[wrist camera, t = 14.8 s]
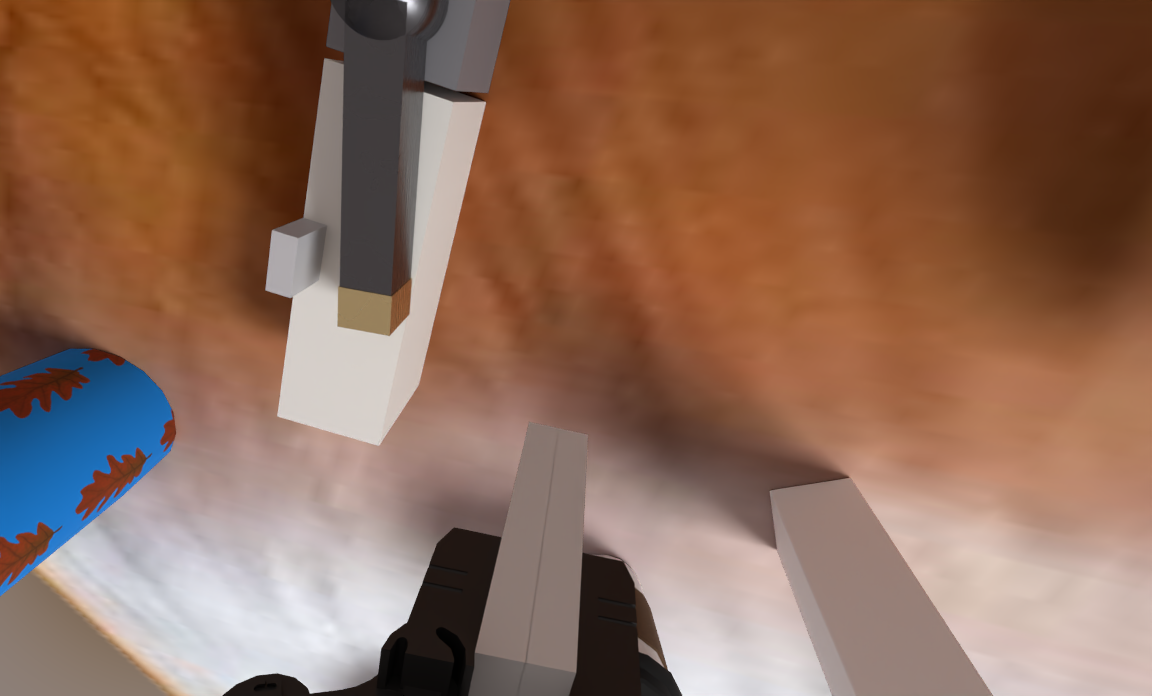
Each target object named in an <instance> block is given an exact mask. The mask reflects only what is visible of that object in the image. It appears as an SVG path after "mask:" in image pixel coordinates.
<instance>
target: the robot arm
mask: <svg viewBox="0 0 1152 696" xmlns="http://www.w3.org/2000/svg"><path fill="white" fill-rule="evenodd" d="M587 448H588V435H587V434H583V433H578V432H574V431H569V430H565V429H560V428H556V427H551V426H546V425H542V424H537V423H533V422H529V425H528V429H527V433H526V437H525V442H524V446H523V450H522V454H521V459H520V463H519V467H518V471H517V476H516V480H515V484H514V488H513V493H512V497H511V501H510V505H509V510H508V514H507V518H506V522H505V526H504V531H503V535H502V537H497V536H492V535H487V534H483V533H478V532H473V531H468V530H464V529H459V528H453V529H452V530H451V531H450V532H449V533H448V534H447V535H446V536H445V537H444V538H442V539H441V540H440V541H439V542H438V543H437V546H436V548H435V551H434V553H433V556H432V559H431V561H430V564H429V568H428V569H427V572H426V575H425V577H424V580H423V583H422V586H421V588H420V590H419V593H418V596H417V598H416V601H415V604H414V606H413V609H412V612H411V614H410V617H409V620H408V622H407V623H406V624H404V625H403V626H401V627H400V628H399V629H397V630H396V631H394V632H393V633H392V634H391V635H390V636H389V638H388V639H387V641H386V642H385V644H384V645H383V647H382V649H381V657H380V664H379V672H378V675H377V676H375V677H374V678H372V679H371V680H369V681H367V682H365V683H363V684H361V685H358V686H356V687H352V688H347V689H343V690H337V691H329V692H321V693H313V694H310V693H309V690H308V688H307V687H306V686H305V685H303V684H302V683H301V682H300V681H298V680H297V679H296V678H294V677H290V676H286V675H282V674H268V675H259V676H255V677H253V678H250V679H248V680H246V681H243V682H241V683H239V684H236V685H235V686H234V687H233V688H231V689H230V690H229V691H228V692H226V693H225V694H224V695H223V696H641V681H640V664H639V648H638V632H637V628H636V626H637V615H636V609H635V606H636V599H635V583H634V581H633V579H632V577H631V575H630V573H629V571H628V569H627V567H626V565H625V563H624V561H619V560H614V559H609V558H605V557H600V556H595V555H590V554H586V553H582V548H583V528H584V508H585V488H586V468H587Z"/></svg>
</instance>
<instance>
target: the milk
mask: <svg viewBox="0 0 1152 696" xmlns="http://www.w3.org/2000/svg"><path fill="white" fill-rule="evenodd" d="M770 499H771V507H772V515H773V523H774V530H775V538H776V546H777V552H778V555H779V557H780V560H781V563H782V565H783V568H784V570H785V573H786V576H787V578H788V581H789V584H790V586H791V589H792V591H793V594H794V597H795V599H796V602H797V604H798V607H799V610H800V612H801V615H802V618H803V620H804V623H805V625H806V628H807V631H808V633H809V636H810V638H811V641H812V644H813V646H814V649H815V652H816V654H817V657H818V659H819V662H820V665H821V667H822V670H823V672H824V675H825V678H826V680H827V683H828V686H829V688H830V691H831V693H832V696H993V695H992V693H991V692H990V690H989V689H988V687H987V686H986V684H985V683H984V681H983V680H982V678H981V677H980V675H979V673H978V672H977V670H976V669H975V667H974V666H973V664H972V663H971V661H970V660H969V658H968V657H967V655H966V654H965V652H964V650H963V649H962V647H961V646H960V644H959V643H958V641H957V640H956V638H955V637H954V635H953V634H952V632H951V631H950V629H949V627H948V626H947V624H946V623H945V621H944V620H943V618H942V617H941V615H940V614H939V612H938V611H937V609H936V608H935V606H934V604H933V603H932V601H931V600H930V598H929V597H928V595H927V594H926V592H925V591H924V589H923V588H922V586H921V585H920V583H919V581H918V580H917V578H916V577H915V575H914V574H913V572H912V571H911V569H910V568H909V566H908V565H907V563H906V562H905V560H904V558H903V557H902V555H901V554H900V552H899V551H898V549H897V548H896V546H895V545H894V543H893V542H892V540H891V539H890V537H889V535H888V534H887V532H886V531H885V529H884V528H883V526H882V525H881V523H880V522H879V520H878V519H877V517H876V516H875V514H874V512H873V511H872V509H871V508H870V506H869V505H868V503H867V502H866V500H865V499H864V497H863V496H862V494H861V493H860V491H859V489H858V488H857V486H856V485H855V483H854V482H853V480H852V479H851V478H846V479H839V480H833V481H827V482H820V483H814V484H808V485H801V486H795V487H789V488H782V489H776V490H771V491H770Z"/></svg>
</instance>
